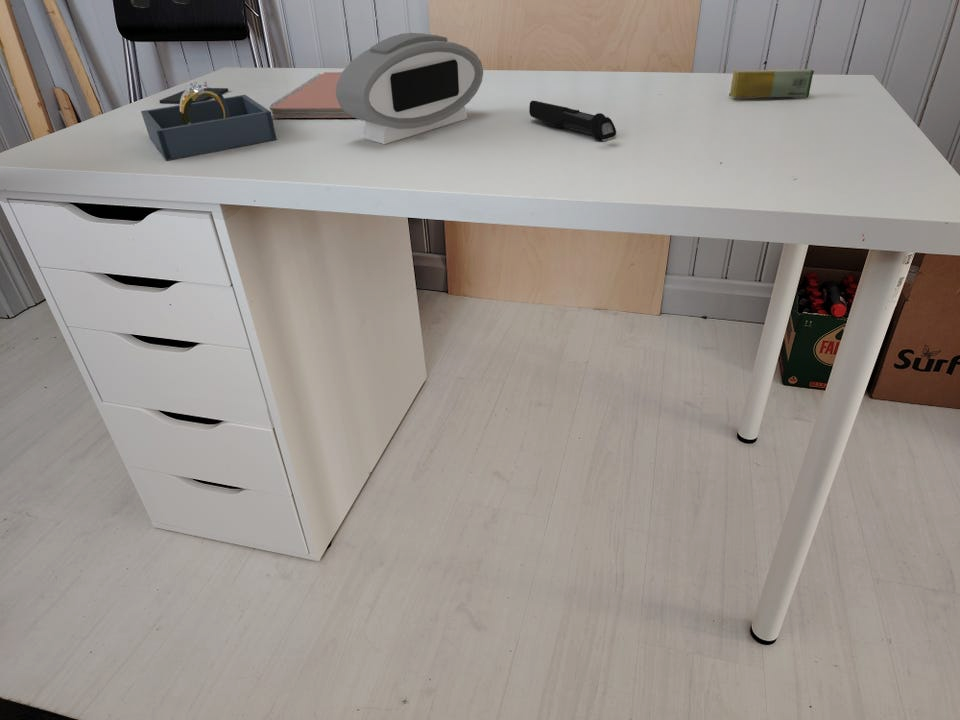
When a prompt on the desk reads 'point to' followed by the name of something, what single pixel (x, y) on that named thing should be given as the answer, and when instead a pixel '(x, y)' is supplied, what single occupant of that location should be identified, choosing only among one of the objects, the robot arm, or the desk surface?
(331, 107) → the notebook
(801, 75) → the medication box
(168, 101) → the mat
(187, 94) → the ring
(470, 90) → the alarm clock
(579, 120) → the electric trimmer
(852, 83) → the desk surface
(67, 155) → the desk surface
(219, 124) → the dark blue tray
